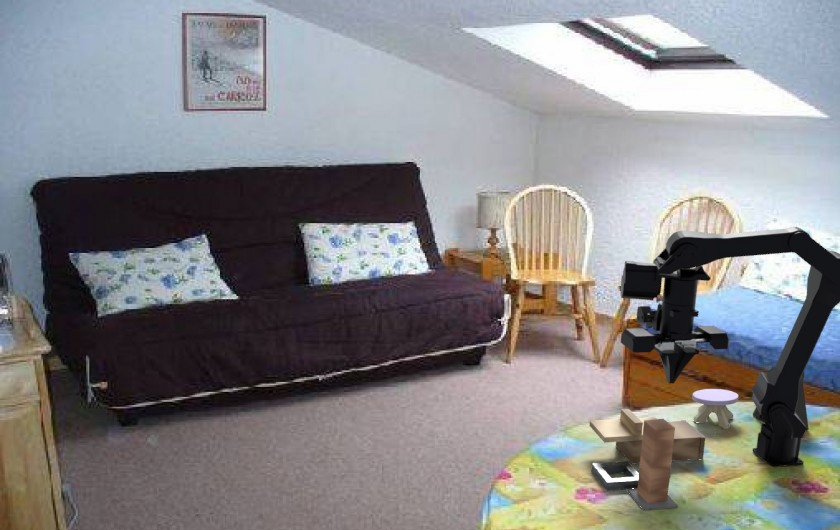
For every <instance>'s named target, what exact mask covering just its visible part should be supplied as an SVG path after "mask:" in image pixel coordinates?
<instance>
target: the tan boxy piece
mask: <svg viewBox="0 0 840 530" xmlns="http://www.w3.org/2000/svg"><path fill="white" fill-rule="evenodd" d="M667 422H668V423H670V424H671V425H672V426H673V427H675V433H674V442H673V451H672V461H671V462H674V461H673V460H681V461H689V460H688V459H696V460H698V459H703V460H704V454H705V453H704V452H705V446H706V445H705V444H706V436H704V435H703V434H702V433H701V432H700V431H699V430H697V429H696V428H695V427H694V426H693V425H691V424H690V423H689V422H688V421H687V420H676V421H675V420H674V421H667ZM615 447H616V448H617V449H618V451H620V452H621V454H622V453H623V454H622V455H623V456H624V455H625V456H624V457H625V458H626V459H627V461H628V462H629V463H630V464H632V463H633V465H634V463H636V464H640V457H641V447H642V440H639V441H622V442H615Z"/></svg>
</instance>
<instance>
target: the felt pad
mask: <svg viewBox="0 0 840 530" xmlns="http://www.w3.org/2000/svg"><path fill="white" fill-rule="evenodd" d="M627 491H628V492H627ZM626 492H627V493H628V494H629V493H630V494H629V495H630V497H631V498H632V497H633V498H634V499H635V500H634V499H633V498H632V499H633V500H634V502H635V503H636V504H637V503H638V504H639V505H638V504H637V505H638V506H639V507H640V506H641V507H642V508H641V507H640V508H641V510H642V509H643V510H642V511H648V510H647V509H651V510H660V509H659V508H664V509H675V508H678V507H679V506H678V504H677V503H676V502H675V501H674V499H672V497H671V496H670V495H669V494H668V498H667V501H665V502H657V503H647V502H646V501H645V500H644V499H643V498H642V497H641V496H640V495H639V494H638V493H637V488H634V489H626ZM644 509H646V510H644Z"/></svg>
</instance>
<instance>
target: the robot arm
mask: <svg viewBox="0 0 840 530" xmlns="http://www.w3.org/2000/svg"><path fill="white" fill-rule="evenodd" d="M787 253H789V254H790V253H793V254H796V255H797V256H798V257H800V258H801V259H802V260H803V261H804V262H805V263H807V264H808V265H809V266H810V267H809V272H808V276H807V283H806V296H805V299H804V301H803V304H802V306H801V309H800V311H799V312H798V315H797V317H796V320H795V322H794V324H793V327H792V329H791V331H790V333H789V335H788V337H787V340H786V342H785V344H784V346H783V349H782V351H781V353H780V356H779V357H778V360H777V362H776V364H775V366H774V369H773V368H772V369H773V370H772V371H770V370H769V372H768V373H767V374H766V373H764V372H763V371H758V375H757V379H756V382H755V384H754V385H753V386H752V387H751V388H750V391H751V392H752V402H753V403H754V406H755V408H756V407H757V409H758V411H759V412H760V414H761V416H762V418H763V419H764V420H765V421H766V423H761V427H760V432H758V434H757V435H758V436H757V441H756V447H753V448H752V452H753V453H754V454H756V455H757V456H758V457H759V458H760V459H762V460H763V461H764V462H765V463H767V464H768V465H769V466H770V467H774V468H775V467H789V466H790V467H791V466H802V465H804V462H805V461H804V460H802V459H801V458H799V455H800V451H801V450H800V449H801V442H802V438H803V437H804V436H805V434H806V432H807V431H808V430H807V428H806V426H805V425H804V423H803V422H802V421H801V419H800V418H799V416H798V415H797V413H796V412H795V411H796V407H797V403H798V398H799V382H800V379H801V376H802V374H803V372H804V373H805V369H806V368H807V366H808V363H809V361H810V359H811V357H812V354H813V352H814V350H815V348H816V346H817V344H818V341H819V339H820V337H821V335H822V334H823V330H824V328H825V326H826V324H827V322H828V319H829V318H830V316H831V313H832V311H833V309H834V308H836V307H837V306H838V304H840V253H839V252H837V251H834V250H828V249H826V247H824V246H823V245H821V244H820V243H819V242H817V241H816V240H815V239H813V237H811V235H810V234H809V233H808V232H807V231H806V230H803V229H802V228H800V227H798V226H789V227H786V228H779V229H767V230H758V231H757V230H756V231H746V232H745V231H744V232H733V233H724V234H717V233H709V232H705V231H704V232H702V231H691V230H679V231H678V230H677V231H675V232H672V234H671V235H670V236H669V237H668V239H667V241H666V243H665V248H664V249H663V250H662V251H660V253H659V254H658V255H657V257H655V258H654V259H653V261H652V263H651V262H637V261H633V260H625V261H624V268H623V271H622V272H623V273H622V275H621V278H620V299H630V300H631V299H632V300H642V301H643V300H645V301H654V299H655V298H658V296H660V295H661V292H663V293H662V301H661V302H658V304H657V307H656V310H652V308H651V306H650V305H644V306H643V305H642V306H641V305H640V306H637V311H636V322H637V323H638V324H645V328H646V329H651V328H652V330H653V331H655V332H658V333H650V332H649V331H647V330H646V329H644V328H642V327H639V328H636V327H635V328H625V329H624V330H623V331H622V333H621V334H620V343H621V344H622V345H623V346H625V347H626V348H627V349H628V350H629V351H631V352H632V353H636V354H637V353H639V354H640V353H651V352H652V351H655V352H657V353H658V355H659V358H660V360H661V364H662V366H663V371H664V375H665V379H666V382H667V383H668V384H675V382H676V381H677V379H679V377H680V375H681V374H682V372H683V370H685V368H686V366H687V365H688V364H689V363H690V361H692V359H693V358H694V357H695V356H696V355H699V354H700V350H698V349H697V343H699V344H700V343H709V346H710V347H711V348H712V349H713V350H728V349H729V347H730V340H731V339H730V337H729V334H728V333H727V332H726V331H724V330H722V329H720V328H718V327H717V326H715V325H697V326H696V327H695V328H694V320H695V318H696V317H697V318H698V317H699V312H700V311H699V310H697V309H696V305H697V303H696V301H697V292H698V286H699V285H698V284H699V281H702V282H703V281H707V282H709V281H710V280H711V276H710V275H709V274H708V273H707V272H706V270H705V269H704V267H703V266H705V265H709V264H711V263H713V262H716V261H718V260H719V261H720V260H722V259H729V258H738V257H739V258H740V257H752V256H766V255H776V254H787ZM662 279H664V281H663V280H662ZM662 281H663V283H662ZM662 285H663V290H662Z"/></svg>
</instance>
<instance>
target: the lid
mask: <svg viewBox="0 0 840 530" xmlns="http://www.w3.org/2000/svg"><path fill="white" fill-rule="evenodd" d="M654 419H658V418H657V417H656V416H653V417H652V416H651V417H650V416H649V417H637V416H636V415H635V413H634V412H633V411H632V410H630V409H629V408H621V409H620V418H613V419H612V418H611V419H598V420H597V419H595V420H589V425H588V426H589V427H590V428H591V429H592V431H593V432H594V433H596V435H597V436H598V437H599V438H600V439H601V441H602V442H603V443H616V442H622V441H639V440H642V437H643V427H644V420H654Z"/></svg>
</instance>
